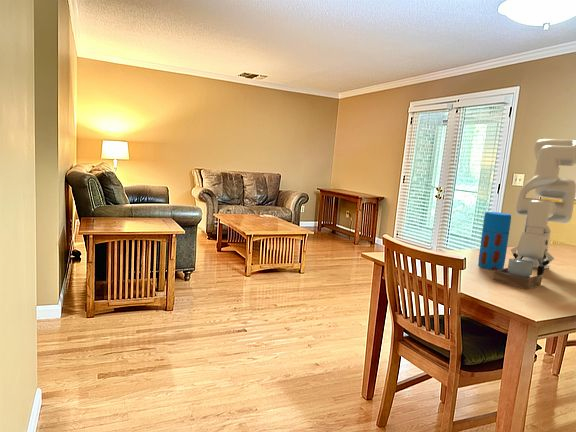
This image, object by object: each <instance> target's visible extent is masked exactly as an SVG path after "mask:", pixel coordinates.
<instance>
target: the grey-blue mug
mask: <svg viewBox="0 0 576 432" xmlns="http://www.w3.org/2000/svg"><path fill="white" fill-rule="evenodd" d="M507 268H508V270H507V274H511V275H515V276H519V277H522V278H530V277H531V276H532V274H533V262H532V261H526V260H523V258H522V259H515V258H509V259H508V264H507Z"/></svg>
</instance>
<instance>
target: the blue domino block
mask: <svg viewBox="0 0 576 432" xmlns="http://www.w3.org/2000/svg"><path fill="white" fill-rule="evenodd" d="M483 217H484V218H483V224H482V230H481V231H482V232H481V239H480V246H479V252H478V253H479V255H478V262H477V263H478V267H480V268H483V269H487V270H491V271H495V270H500V269H505V268H504V267H505V264H506V263H505V262H506V256H507V250H508V249H507V248H508V243H509V237H510V229H511V222H512V214H509V213H504V212H498V211H485V213H484V215H483Z"/></svg>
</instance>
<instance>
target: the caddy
mask: <svg viewBox="0 0 576 432" xmlns="http://www.w3.org/2000/svg"><path fill="white" fill-rule="evenodd" d="M507 270H508V267H505V268H503V269H500V270H493V277H492V281H495V282H498V283H501V284H505V285H509V286H513V287H516V288H519V289H522V290H530V289H533V288H538V287H541V286H542V281H543V275H539V276H537V275H534V276H530V278H522V277H519V276H515V275H511V274H507Z"/></svg>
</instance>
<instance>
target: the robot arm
mask: <svg viewBox="0 0 576 432" xmlns="http://www.w3.org/2000/svg"><path fill="white" fill-rule="evenodd" d="M533 149H534V150H533V151H534V156H535V160H536V165H535V171H534V175H533V177H531V178H530V179H528V180H527V181H526V182H525V183H524V184H523V185H522V187H521V188H520V190H519V192H518V197H517V201H516V207H515V208H516V212H517V214H519V215H521V216H526V219H525V225H524V226H525V227H524V231H523V232H522V234H521V235H520V239H519V242H518V245H517V246H515V247H513V248H511V249H510V251H511V253H512V255H513V258H514V259H522V260H526V261H532V262H533V268H535V269H537V272H536V276H539V275H540V276H543V274H544V273H545V272H544V271H545V270H546V269H549V267H550V265H549V264H550V263H552V261H554V260H555V257H554V256H552V254H551V253H550V252H549V244H550V238H551V229H550V226H549V225H548V223H549V222H552V223H553V222H554V223H561V224H566V223H569V222H571V220H572V218H573V211H574V205H575V198H576V197H575V196H576V182H575V180H574V179H571V178H561V177H560V178H559V175H560V168H561V167H560V166H563V167H572V166H575V165H576V139H564V138H563V139H561V138H542V139H538V140H537V141H535V142H534V148H533ZM533 190H534V192H535V196H538V197H540V198H533V197H527V194H528V193H529V192H530V191H533ZM541 198H542V199H541ZM543 198H546V199H543ZM549 199H555V200H556V199H558V200H562V201H553V200H549ZM533 268H532V269H533Z"/></svg>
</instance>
